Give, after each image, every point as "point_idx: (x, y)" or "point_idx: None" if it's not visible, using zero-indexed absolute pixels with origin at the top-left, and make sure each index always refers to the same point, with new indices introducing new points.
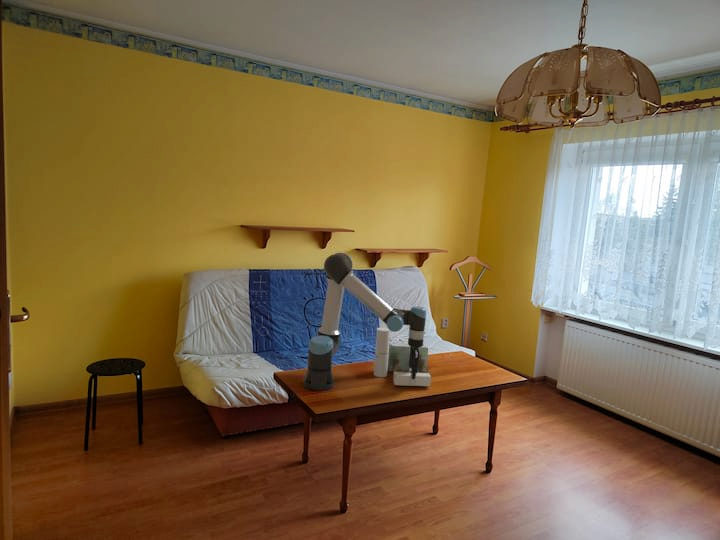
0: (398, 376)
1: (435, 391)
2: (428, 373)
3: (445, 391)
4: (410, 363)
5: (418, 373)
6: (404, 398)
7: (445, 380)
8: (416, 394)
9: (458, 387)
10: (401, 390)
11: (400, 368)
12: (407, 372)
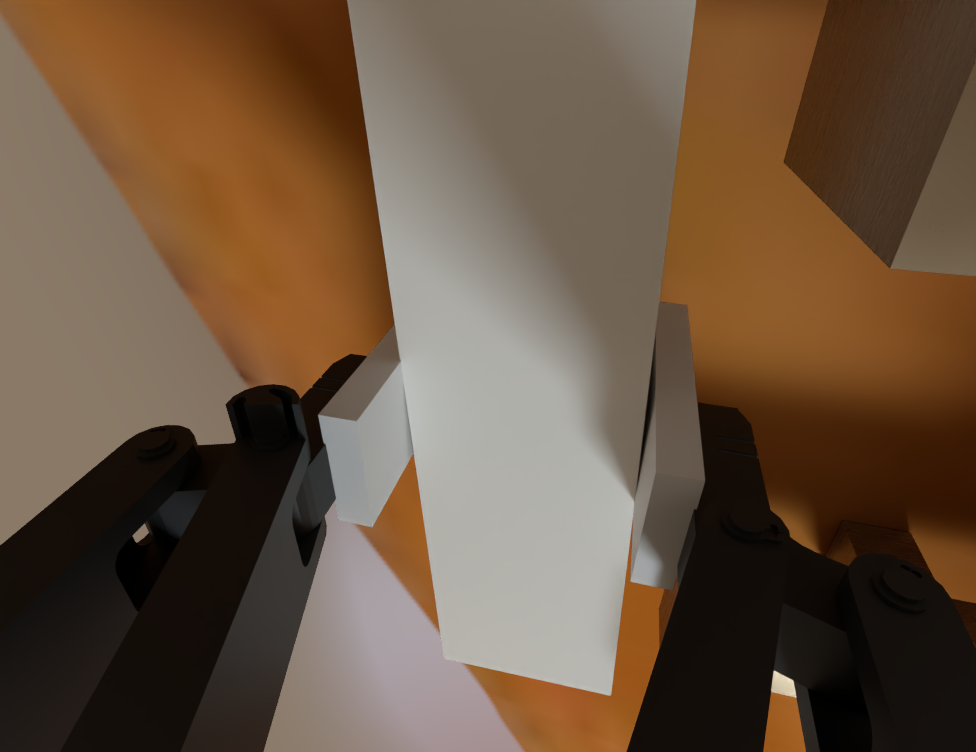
0: (366, 17)
1: (416, 532)
2: (592, 686)
3: (434, 610)
4: (668, 627)
5: (580, 554)
6: (60, 81)
7: (768, 735)
8: (265, 298)
9: (553, 733)
10: (356, 87)
11: (862, 189)
12: (641, 356)
